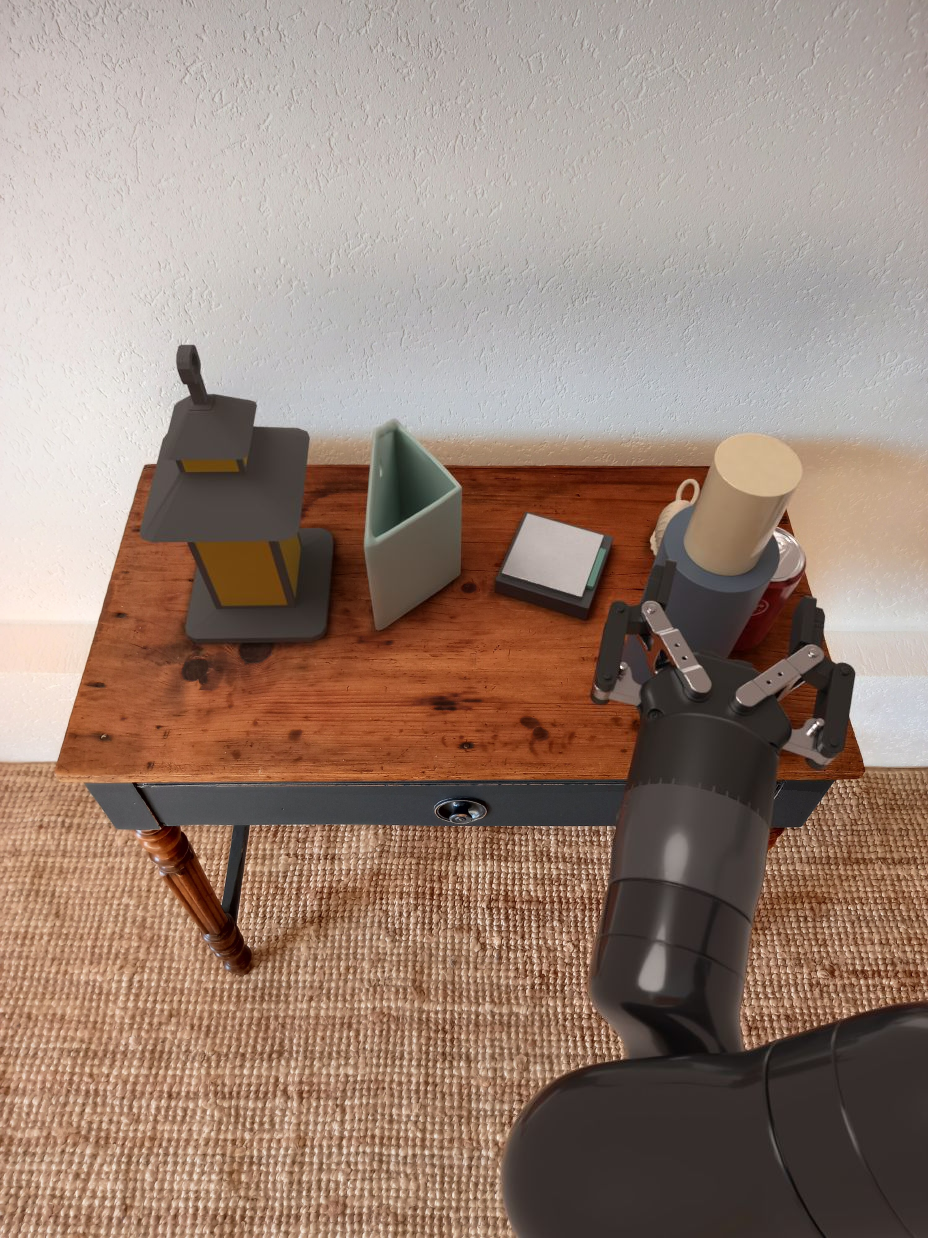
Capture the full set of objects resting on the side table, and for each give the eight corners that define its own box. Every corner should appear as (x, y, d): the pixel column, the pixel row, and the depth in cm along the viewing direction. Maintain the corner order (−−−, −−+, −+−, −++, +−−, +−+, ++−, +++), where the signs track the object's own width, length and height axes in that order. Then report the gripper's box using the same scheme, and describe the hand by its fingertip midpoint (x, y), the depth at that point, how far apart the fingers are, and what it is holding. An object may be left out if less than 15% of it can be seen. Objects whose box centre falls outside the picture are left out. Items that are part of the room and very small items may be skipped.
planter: (452, 638, 81) (452, 508, 65) (374, 630, 82) (355, 500, 65) (468, 515, 90) (472, 374, 74) (398, 509, 91) (386, 367, 74)
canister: (767, 529, 64) (809, 446, 56) (753, 586, 61) (796, 506, 53) (692, 507, 65) (724, 423, 57) (675, 562, 62) (706, 481, 54)
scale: (610, 549, 88) (614, 533, 85) (585, 620, 83) (589, 605, 80) (523, 524, 90) (525, 507, 87) (494, 592, 84) (495, 576, 82)
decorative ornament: (639, 554, 87) (649, 522, 83) (671, 506, 91) (683, 473, 87) (673, 571, 86) (685, 539, 82) (704, 521, 90) (718, 488, 86)
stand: (718, 649, 81) (787, 520, 64) (701, 724, 76) (770, 606, 60) (631, 622, 83) (677, 489, 66) (609, 694, 78) (652, 571, 61)
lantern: (185, 643, 80) (64, 417, 55) (206, 534, 88) (108, 292, 63) (325, 641, 81) (269, 415, 56) (334, 533, 88) (288, 291, 63)
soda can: (723, 664, 80) (762, 595, 70) (680, 610, 83) (711, 537, 73) (780, 636, 82) (826, 565, 72) (735, 584, 85) (773, 510, 75)
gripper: (864, 844, 37) (879, 579, 46) (569, 753, 40) (635, 517, 48) (805, 887, 44) (828, 647, 52) (553, 806, 46) (614, 589, 55)
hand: (735, 585), depth 50 cm, fingers open, 8 cm apart
